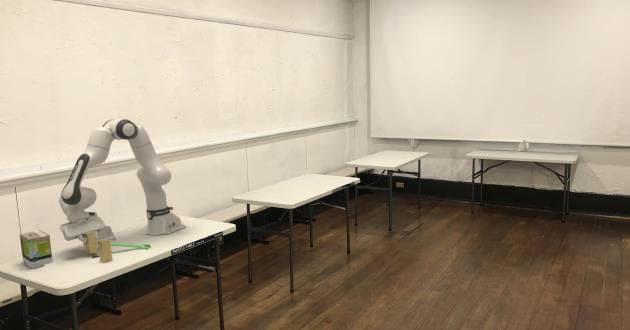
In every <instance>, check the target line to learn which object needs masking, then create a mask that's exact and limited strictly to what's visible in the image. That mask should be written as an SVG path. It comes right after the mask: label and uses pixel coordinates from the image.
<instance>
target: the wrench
mask: <svg viewBox="0 0 630 330" xmlns="http://www.w3.org/2000/svg"><path fill="white" fill-rule="evenodd" d="M110 245H111V247H112V246H115V247H125V248H137V249H138V248H139V249H141V250H145V251H148V250H149V248H151V247H152V246H151V244H149V243H141V244H131V243H130V244H129V243H121V242H110Z"/></svg>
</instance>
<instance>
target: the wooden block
mask: <svg viewBox="0 0 630 330" xmlns="http://www.w3.org/2000/svg"><path fill="white" fill-rule="evenodd" d="M84 239H87V241H88V242H87V243H86V244H85V245H84V246H85V252H86V254H93V253H96V252H99V247H98V243H97V241H96V234H95V232H94V231H90V232H86V233H84Z"/></svg>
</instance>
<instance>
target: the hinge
mask: <svg viewBox="0 0 630 330" xmlns="http://www.w3.org/2000/svg"><path fill="white" fill-rule="evenodd" d="M97 237H98V240H96V241H97V244H98V241H100V240H103V239H108V240H110V241H111V240H112V241H116V240H117V238H116V236H115V234H114V233H113V230H112V228H111V226H109V225H106V227H105V229H104V231H101V232H98V233H97ZM82 238H84V237H82ZM82 244H83V245H82V246H85V244H84V243H83V242H82Z"/></svg>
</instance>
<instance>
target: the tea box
mask: <svg viewBox="0 0 630 330" xmlns="http://www.w3.org/2000/svg"><path fill="white" fill-rule="evenodd" d="M19 241H20V247H21V248H20V249H21V256H22V261H23V263H24V264H25V265H27V267H29V268H30V269H37V268H40V267H45V266H46V264H50V263H53V262H54V261H53V260H54V259H53V254H52V253H53V252H52V243H51V237H50V235H49V233H47V232H45V231H43V230H41V229H39V230H34V231H28V232H24V233H23V232H22V233H20V234H19Z"/></svg>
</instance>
